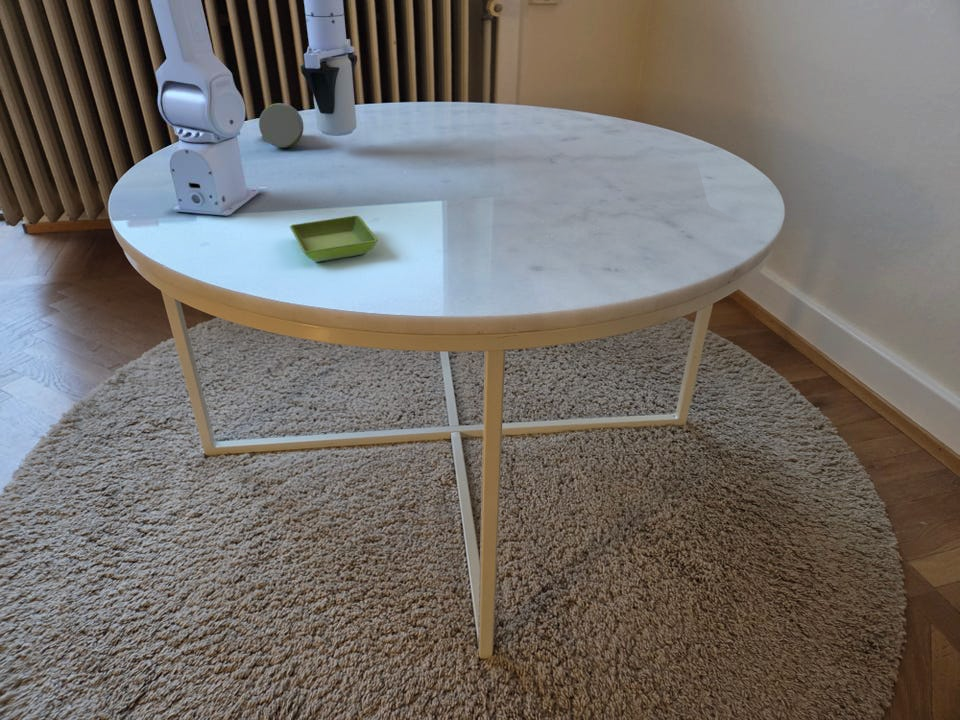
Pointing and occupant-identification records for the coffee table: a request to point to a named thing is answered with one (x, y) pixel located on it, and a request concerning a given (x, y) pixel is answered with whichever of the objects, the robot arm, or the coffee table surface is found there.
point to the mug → (281, 125)
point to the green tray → (334, 238)
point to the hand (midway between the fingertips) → (334, 108)
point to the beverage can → (339, 101)
